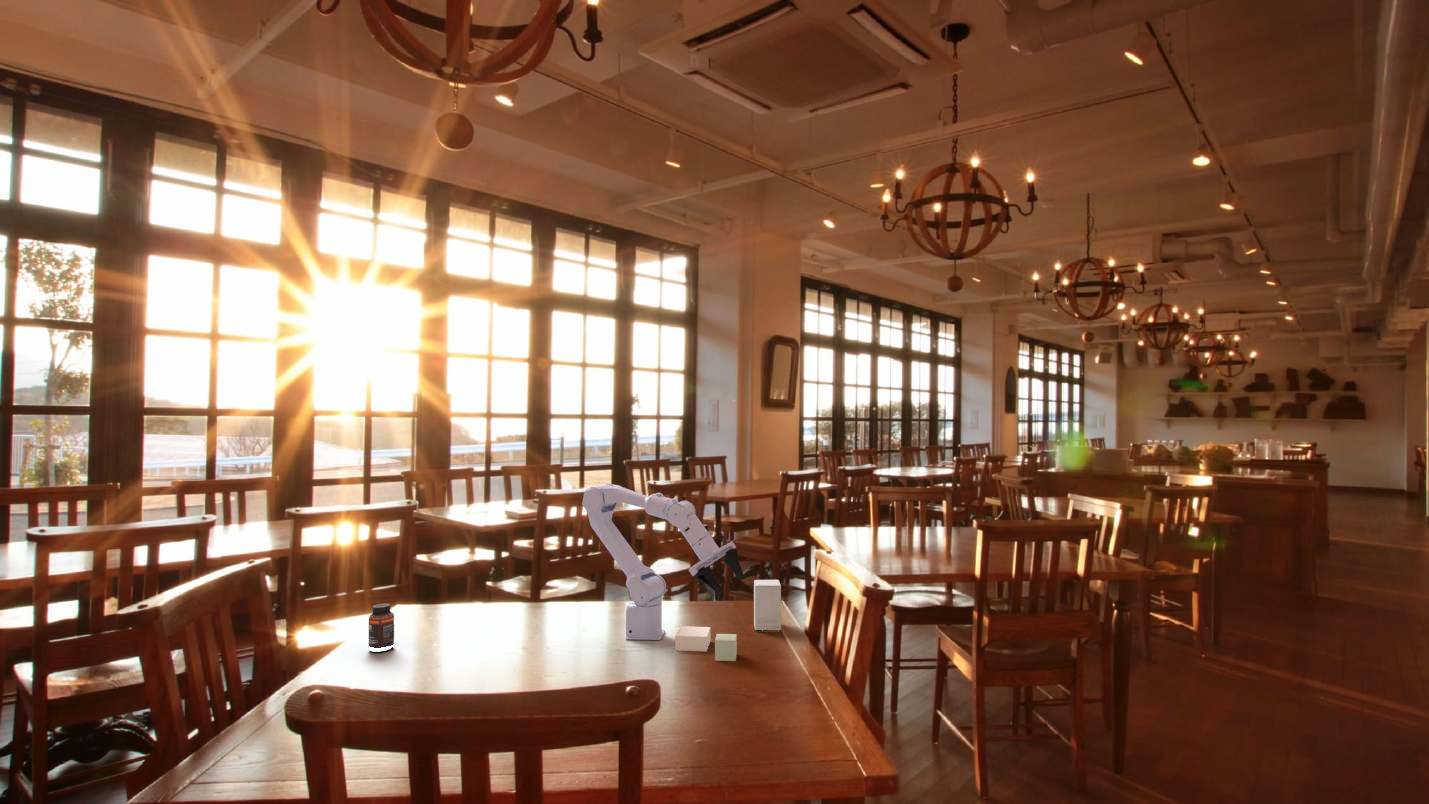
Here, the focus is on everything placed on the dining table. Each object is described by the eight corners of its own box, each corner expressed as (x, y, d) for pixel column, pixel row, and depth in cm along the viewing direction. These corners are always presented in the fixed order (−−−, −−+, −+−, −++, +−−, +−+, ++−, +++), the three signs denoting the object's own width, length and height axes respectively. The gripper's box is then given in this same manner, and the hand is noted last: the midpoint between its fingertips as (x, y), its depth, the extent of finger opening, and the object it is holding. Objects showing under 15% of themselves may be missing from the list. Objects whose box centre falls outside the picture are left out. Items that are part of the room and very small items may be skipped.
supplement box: (781, 631, 197) (781, 585, 197) (754, 631, 197) (754, 585, 197) (779, 623, 204) (779, 579, 204) (753, 623, 204) (753, 579, 204)
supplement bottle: (398, 646, 185) (399, 602, 185) (386, 654, 179) (386, 608, 179) (377, 645, 186) (377, 601, 186) (363, 653, 180) (363, 608, 180)
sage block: (715, 660, 174) (715, 640, 174) (716, 653, 179) (716, 633, 179) (735, 661, 174) (735, 640, 174) (736, 654, 178) (736, 634, 179)
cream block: (675, 651, 181) (675, 635, 181) (680, 641, 189) (680, 626, 189) (706, 652, 180) (706, 636, 181) (710, 642, 188) (710, 627, 188)
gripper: (684, 548, 179) (716, 594, 176) (726, 522, 188) (757, 565, 184) (675, 558, 185) (706, 603, 181) (717, 533, 193) (746, 575, 190)
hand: (731, 585), depth 183 cm, fingers open, 7 cm apart
